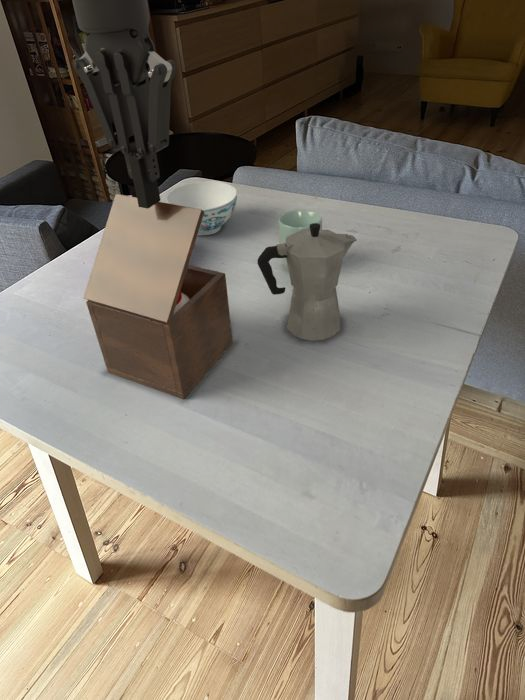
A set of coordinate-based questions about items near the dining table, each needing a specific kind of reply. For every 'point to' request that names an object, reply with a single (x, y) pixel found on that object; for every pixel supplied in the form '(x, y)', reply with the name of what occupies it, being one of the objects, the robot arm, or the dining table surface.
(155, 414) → the dining table surface
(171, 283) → the lid
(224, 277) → the chest
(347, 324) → the dining table surface
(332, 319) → the coffeepot
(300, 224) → the cup
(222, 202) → the chinaware
